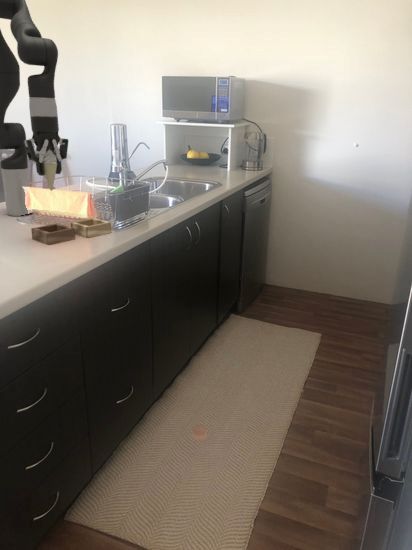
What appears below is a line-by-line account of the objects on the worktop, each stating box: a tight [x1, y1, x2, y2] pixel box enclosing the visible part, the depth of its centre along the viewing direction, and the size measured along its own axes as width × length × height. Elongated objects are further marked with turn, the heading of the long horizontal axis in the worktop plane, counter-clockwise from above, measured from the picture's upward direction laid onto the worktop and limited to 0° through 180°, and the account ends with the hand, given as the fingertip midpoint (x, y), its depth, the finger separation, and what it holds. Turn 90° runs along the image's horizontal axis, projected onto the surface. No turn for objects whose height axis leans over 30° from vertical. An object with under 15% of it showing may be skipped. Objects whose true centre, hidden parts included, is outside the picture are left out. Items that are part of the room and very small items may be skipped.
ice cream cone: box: [42, 149, 57, 191], centre depth 130 cm, size 5×5×15 cm
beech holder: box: [70, 217, 112, 239], centre depth 145 cm, size 9×9×4 cm
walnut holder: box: [30, 223, 76, 246], centre depth 137 cm, size 9×9×4 cm
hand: (49, 174), depth 131 cm, fingers closed on ice cream cone, 5 cm apart
